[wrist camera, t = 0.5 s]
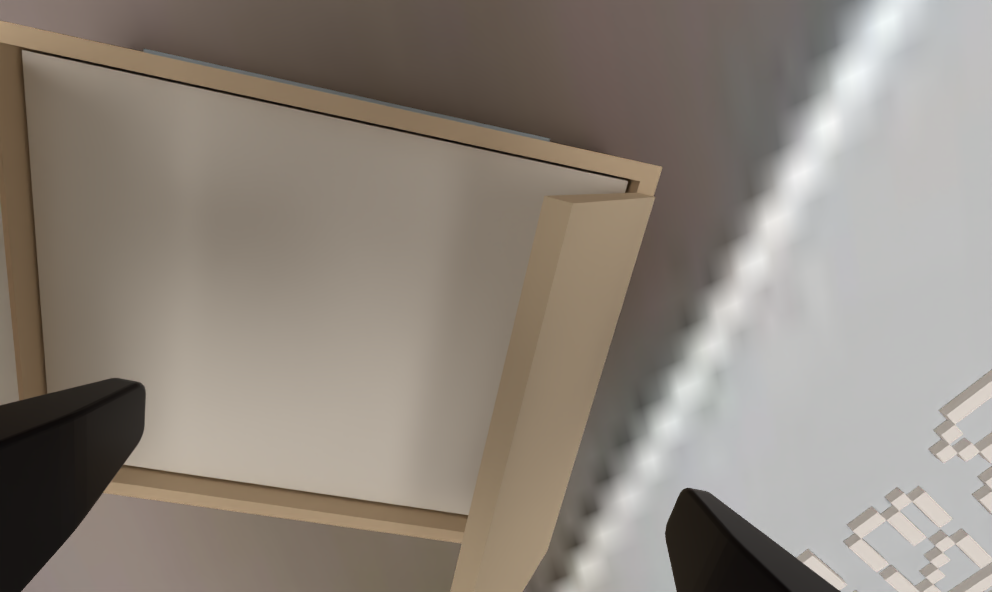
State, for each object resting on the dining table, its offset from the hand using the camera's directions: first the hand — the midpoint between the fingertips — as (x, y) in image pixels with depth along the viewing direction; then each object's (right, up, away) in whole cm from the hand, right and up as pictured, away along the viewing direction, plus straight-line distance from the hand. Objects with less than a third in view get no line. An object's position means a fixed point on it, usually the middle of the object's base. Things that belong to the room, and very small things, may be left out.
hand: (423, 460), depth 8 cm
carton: (-5, +3, +13) cm, 14 cm away
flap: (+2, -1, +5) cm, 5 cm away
